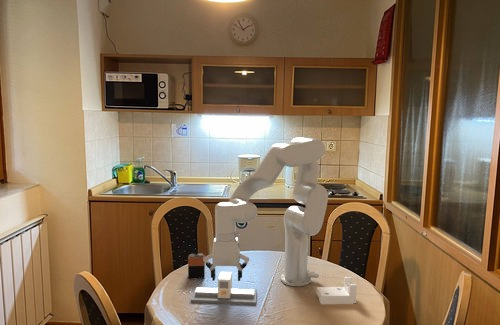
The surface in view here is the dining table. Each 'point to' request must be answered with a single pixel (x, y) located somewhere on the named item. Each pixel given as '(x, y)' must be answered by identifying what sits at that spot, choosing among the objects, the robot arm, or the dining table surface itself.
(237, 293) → the rail
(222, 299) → the mounting plate
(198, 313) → the dining table surface
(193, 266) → the battery
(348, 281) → the bracket
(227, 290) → the block
